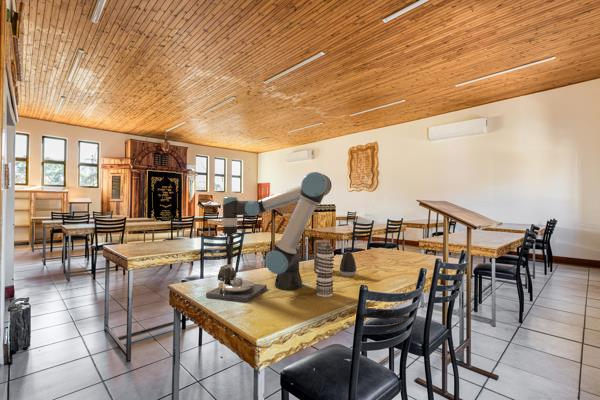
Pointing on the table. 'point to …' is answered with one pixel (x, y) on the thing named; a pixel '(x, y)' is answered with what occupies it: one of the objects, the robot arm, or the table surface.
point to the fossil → (221, 272)
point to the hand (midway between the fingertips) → (229, 270)
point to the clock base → (236, 293)
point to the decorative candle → (324, 270)
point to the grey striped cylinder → (317, 249)
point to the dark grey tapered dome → (348, 265)
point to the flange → (235, 283)
